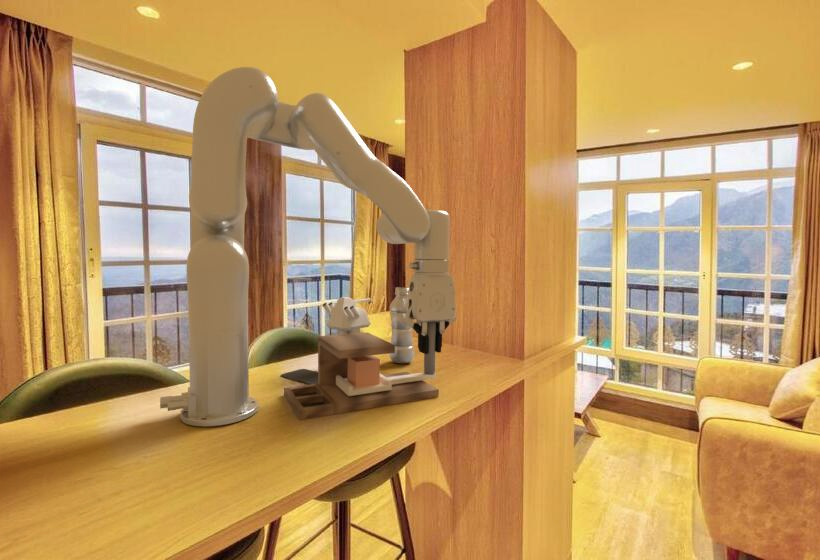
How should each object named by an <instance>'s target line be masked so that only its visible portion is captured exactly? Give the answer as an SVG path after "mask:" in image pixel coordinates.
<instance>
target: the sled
mask: <svg viewBox="0 0 820 560" xmlns="http://www.w3.org/2000/svg"><path fill="white" fill-rule="evenodd" d="M427 335H428V336H429V353H428V354H424V353H423V356H424V357H423V358H424V359H423V372H416V373H410V374H409V375H401V376H394V377H385V376H384V375H385V374H382V373H380V384H376V385H369V386H362V387H355V386H354V385H353V384H351V383H350V382H349V381H348V378H344V379H343V378H342V377H341V376H340V375H338V376H336V385H337V386H338V387H339V388H340V389H341V390H343V391H344V392H345V393H346V394H347V395H348V396H354V395H360V394H367V393H374V392H380V391H387V390H392V384H399V383H406V382H413V381H420V380H423V381H425V380H433V379H437V373H436V352H435V343H436V321H431V322H427Z"/></svg>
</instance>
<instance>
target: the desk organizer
mask: <svg viewBox="0 0 820 560" xmlns="http://www.w3.org/2000/svg"><path fill="white" fill-rule="evenodd" d="M317 337H318V339H317V341H318V342H317V348H318V349H317V360H318V361H317V365H318V367H317V372H318V384H310V385H306V384H302V385H296V386H289V387H283V396H284V398H285V399H286V401H287V402H288V404H289V405H290V407H291V408H292V411H294V414H295V415H296V416H297V418H298V420H300V421H303V420H308V419H314V418H320V417H324V416H325V417H326V416H331V415H332V416H333V415H337V414H338V415H339V414H342V413H349V412H355V411H362V410H369V409H374V408H380V407H385V405H386V406H392V405H397V403H398V404H402V403H403V404H404V403H409V402H416V401H420V400H421V401H422V400H426V399H433V397H434V398H438V397H437V396H439V395H440V393H439V390H440V389H438V388H437V387H435V386H434V385H432V384H430V383H428V382H426V381H425V380H420V381H413V382H406V383H399V384H392V390H387V391H380V392H374V393H367V394H360V395H354V396H348V395H347V394H346V393H345V392H344V391H343V390H341V389H340V388H339V387H338V386H337V385H336V376H338V375H340V376H341V377H342V378H343V379H344V378H348V358H351V357H361V356H370V355H373V356H378V355H387V354H389V353H395V345H394V344H391V342H389V341H386V340H385V339H382V338H381V337H378V336H376V335H374V334H372V333H369V332H360V333H354V334H341V335H337V334H330V335H328V334H327V335H319V336H317ZM409 374H411V373H410V372H408V371H404V372H403V371H402V372H397V373H395V372H394V373H388V374H387V373H386V374H383V375H384V376H385V377H394V376H401V375H409ZM391 404H392V405H391Z"/></svg>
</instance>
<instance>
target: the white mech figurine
mask: <svg viewBox="0 0 820 560" xmlns="http://www.w3.org/2000/svg"><path fill="white" fill-rule="evenodd" d="M371 300H372V299H371V298H370V297H367V298H363V299H362V298H361V299H353V298H351V297H349V296H344V297H343V296H342V297H339V298H338V299H337V301H336V303H335V304H334V302H333V301H330V302H329V303H327V302H324V303H323V304H322V305H321V306H322V307H323V308H324V310H325V311H326V313H327V314H329V318H328V320H327V323H326V326H327V327H328V328H329V329H332V330H336V331H337V333H336V335H341V334H354V333H361V329H365V328H369V327H370V326H371V321H370V318H369V316H368V313H367V310H366V309H364V308H360V307H358V306H357V305H356V304H358V303H364V302H367V303H370V302H371Z"/></svg>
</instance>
